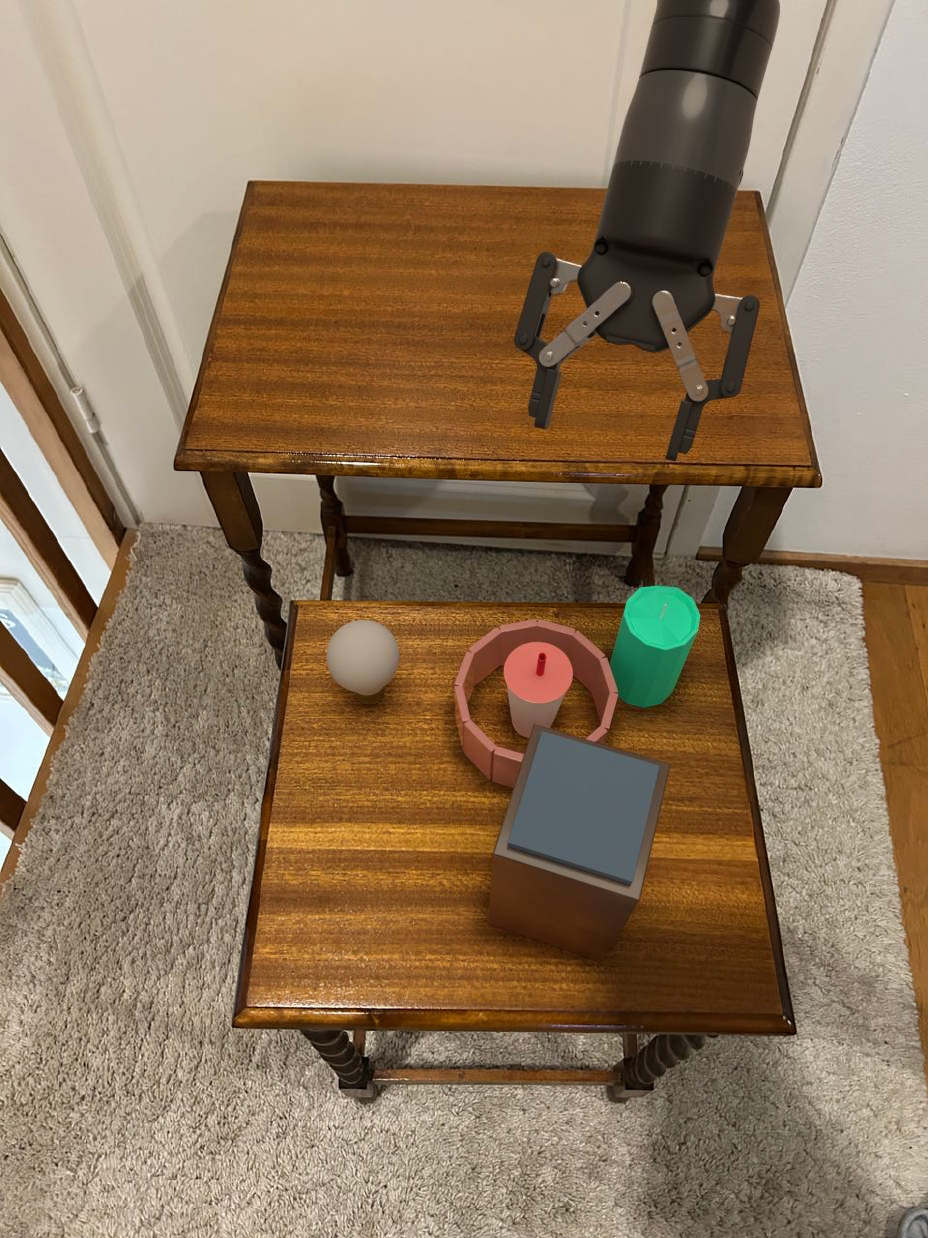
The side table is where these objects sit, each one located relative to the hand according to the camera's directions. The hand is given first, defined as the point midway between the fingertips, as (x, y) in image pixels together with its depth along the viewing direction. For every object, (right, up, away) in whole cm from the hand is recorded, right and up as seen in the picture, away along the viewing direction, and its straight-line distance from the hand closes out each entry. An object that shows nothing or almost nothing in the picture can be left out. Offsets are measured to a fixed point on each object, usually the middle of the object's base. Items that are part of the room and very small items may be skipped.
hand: (605, 443), depth 60 cm
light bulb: (-17, -18, +22) cm, 33 cm away
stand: (-2, -32, +13) cm, 35 cm away
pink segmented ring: (-3, -20, +20) cm, 29 cm away
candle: (+7, -16, +22) cm, 29 cm away
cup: (-3, -20, +20) cm, 29 cm away
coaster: (-2, -23, -3) cm, 23 cm away
